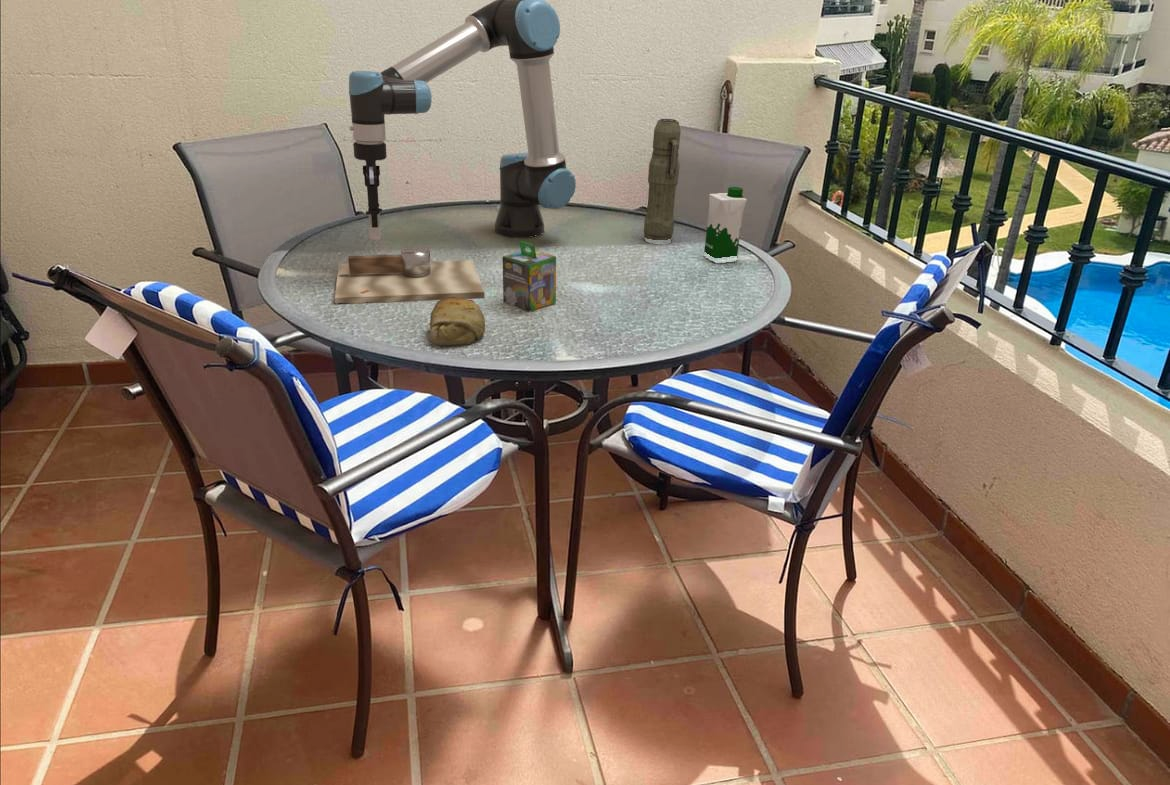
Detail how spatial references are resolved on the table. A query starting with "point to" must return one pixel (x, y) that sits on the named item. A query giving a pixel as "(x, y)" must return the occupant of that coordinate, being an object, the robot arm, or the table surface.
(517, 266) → the chalk box
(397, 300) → the dial board
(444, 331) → the pastry
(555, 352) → the table surface
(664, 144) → the thermos
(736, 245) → the milk carton
